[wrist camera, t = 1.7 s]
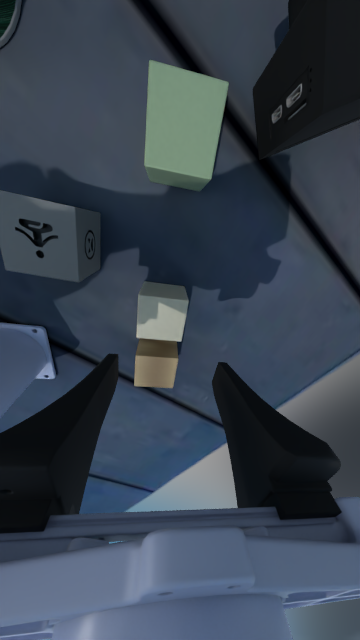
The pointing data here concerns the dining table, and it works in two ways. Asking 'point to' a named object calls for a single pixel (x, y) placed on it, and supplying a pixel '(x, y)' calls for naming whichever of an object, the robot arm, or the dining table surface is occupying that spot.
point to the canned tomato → (8, 18)
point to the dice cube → (48, 238)
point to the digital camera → (310, 76)
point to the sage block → (182, 125)
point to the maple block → (156, 363)
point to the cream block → (161, 311)
